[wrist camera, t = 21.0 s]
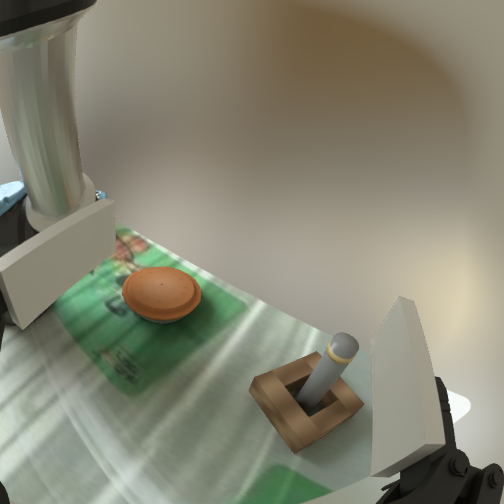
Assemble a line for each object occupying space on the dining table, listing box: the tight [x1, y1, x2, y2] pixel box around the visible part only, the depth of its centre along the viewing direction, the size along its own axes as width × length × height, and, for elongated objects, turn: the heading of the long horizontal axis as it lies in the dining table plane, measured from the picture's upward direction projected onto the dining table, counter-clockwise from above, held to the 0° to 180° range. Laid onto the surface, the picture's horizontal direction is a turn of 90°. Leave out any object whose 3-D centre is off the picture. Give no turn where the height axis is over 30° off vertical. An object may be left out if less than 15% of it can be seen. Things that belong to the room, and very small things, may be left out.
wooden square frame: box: [249, 351, 364, 454], centre depth 39 cm, size 13×13×4 cm
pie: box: [122, 267, 202, 324], centre depth 53 cm, size 16×16×5 cm
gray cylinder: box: [295, 333, 359, 415], centre depth 36 cm, size 4×4×16 cm
